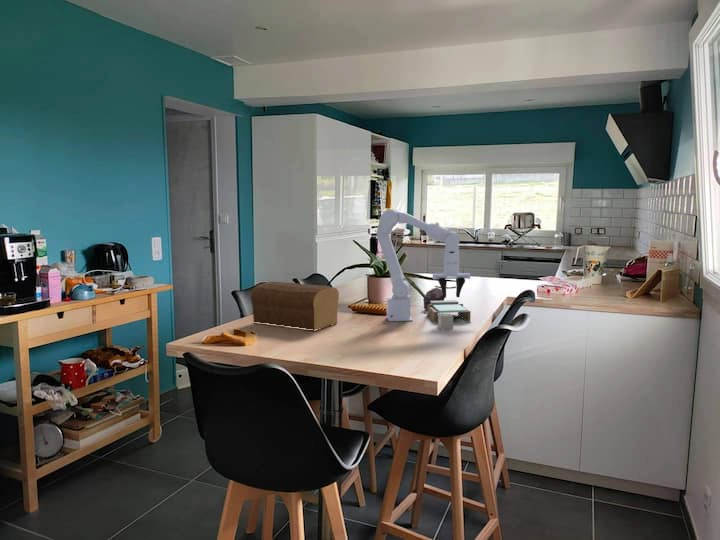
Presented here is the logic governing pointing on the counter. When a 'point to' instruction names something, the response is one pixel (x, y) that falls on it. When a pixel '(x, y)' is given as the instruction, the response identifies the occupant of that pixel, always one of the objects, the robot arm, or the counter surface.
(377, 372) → the counter surface
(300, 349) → the counter surface
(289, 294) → the bread
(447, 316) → the grey block
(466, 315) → the frame
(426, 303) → the rock
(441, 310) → the trapdoor
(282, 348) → the counter surface
